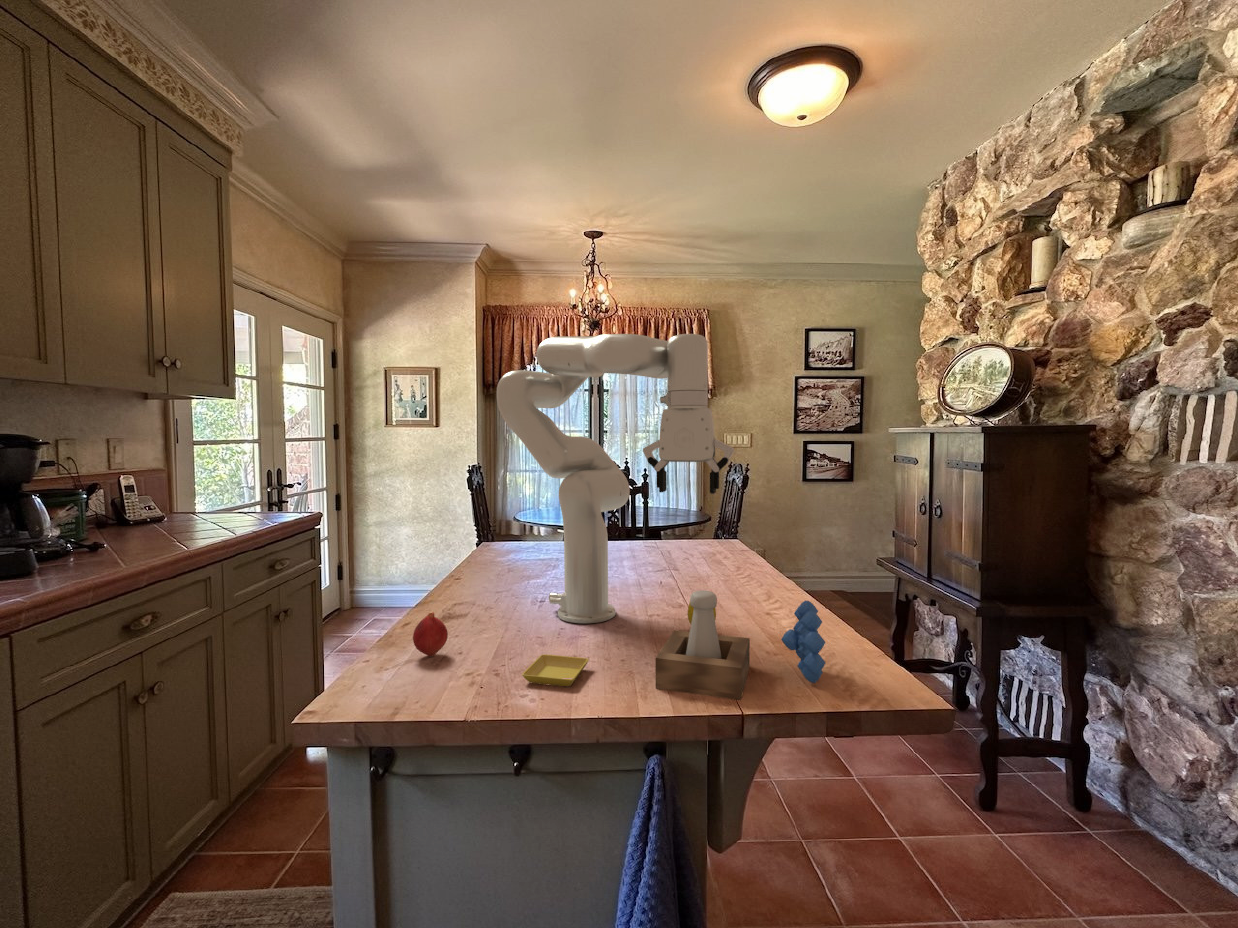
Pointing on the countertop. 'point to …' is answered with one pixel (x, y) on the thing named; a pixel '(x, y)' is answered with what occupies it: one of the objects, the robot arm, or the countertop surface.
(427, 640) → the onion
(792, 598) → the countertop surface
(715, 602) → the salt shaker
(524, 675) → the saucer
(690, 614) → the lemon
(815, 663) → the grapes
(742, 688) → the shaker holder
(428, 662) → the countertop surface
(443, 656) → the countertop surface
